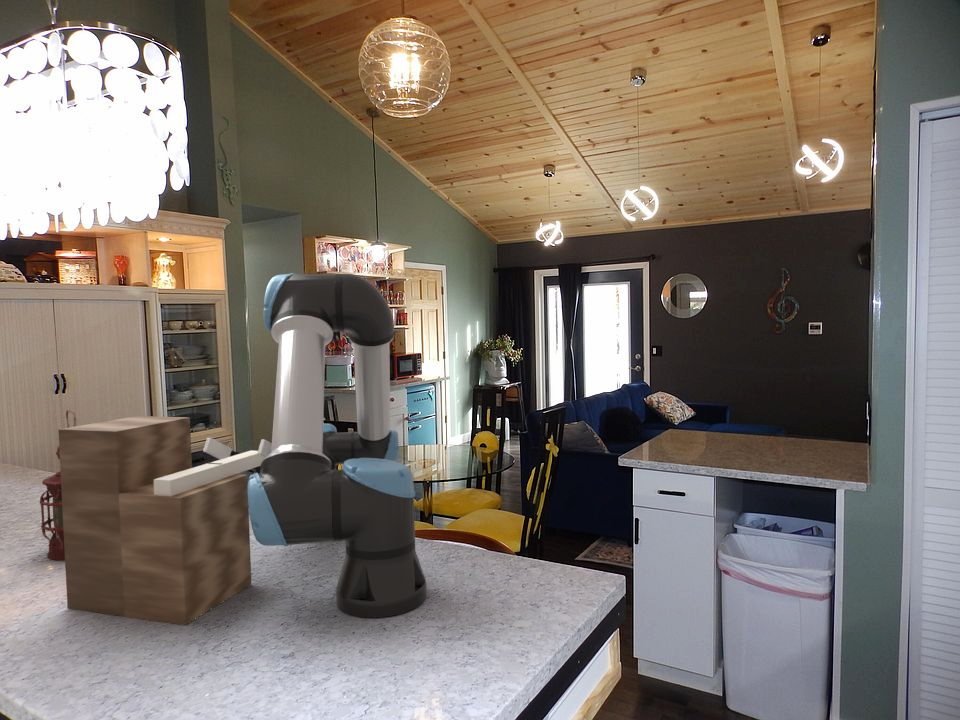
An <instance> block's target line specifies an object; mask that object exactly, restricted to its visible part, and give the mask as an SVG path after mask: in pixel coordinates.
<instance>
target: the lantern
mask: <svg viewBox="0 0 960 720" xmlns="http://www.w3.org/2000/svg"><path fill="white" fill-rule="evenodd" d="M69 413H71V414H72V416H73V427H76V426H77V416H76V412H75V411H73V410H72V409H67V410H66V412H65V420H66V421H65V422H66V428H70V422H69ZM56 448H57V449H56V453H55V455H56V456H57V459H58V460H60V452H59V445H58V446H57V447H56ZM41 484H43V485H44V486H45V487H46V491H44V492H43V493H42V494H41V495H40V499H39V504H40V510H41V512H40V513H41V525H40V528H41V532H42V536H43V537H44V538H45V539H46V540H48V553H47V558H48V559H50V560H52V561H65V549H64V530H63V511H62V491H61V472H60V471H57V472H56V473H55V474H52V475H50V476H49V477H46V478H44V479H42V483H41ZM45 494H46V496H45ZM51 498H52V502H50V499H51ZM45 506H46V508H47V509H46V510H47V520H45V511H44V507H45ZM50 507H52V518H51V511H50ZM52 522H53V527H52ZM46 525H47V526H46ZM46 531H49V532H50V533H51V538H49V537H48V536H47V534H46Z"/></svg>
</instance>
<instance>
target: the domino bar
mask: <svg viewBox="0 0 960 720" xmlns="http://www.w3.org/2000/svg"><path fill="white" fill-rule="evenodd" d="M240 453H241V454H238V455H234V456H231V457H227V458H224V459H221V460H217V459H216V460H215V461H212V462H207V463H204V464H201V465H197V466H194V467H192V468H191V469H187V470H184V471H180V472H177V473H174V474H170V475H167V476H164V477H160V478H157V479H154V495H158V496H173V495H176V494H179V493H182V492H185V491H188V490H191V489H194V488H197V487H200V486H203V485H206V484H209V483H211V482H214V481H217V480H220V479H223V478H226V477H229V476H232V475H235V474H242V473H244V471H247V470H249V469H252V468H255V467H258V466H261V462H262V460H263V459H264V458H265V457H263V456H261V455H259V454H257V453H258V450H252V449H251V450H247V451H244V452H240Z"/></svg>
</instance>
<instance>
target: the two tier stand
mask: <svg viewBox="0 0 960 720" xmlns="http://www.w3.org/2000/svg"><path fill="white" fill-rule="evenodd" d="M57 431H58V446H59V452H60V459H59V466H60V467H59V468H60V471H59V472H61V491H62V511H63V530H64V549H65V560H64V563H65V565H64V566H65V586H66V587H65V588H66V604H67V605H66V606H67V609H72V610H76V611H77V610H79V611H85V612H90V611H91V612H92V613H97V612H99V614H104V613H106V614H105V615H112V616H118V617H119V616H120V617H125V618H132V619H139V620H145V621H153V622H161V623H167V624H173V625H180V624H184V625H183V626H187V625H188V624H187V623H189V622H190V623H192V622H193V621H195V620H196V619H195V618H197V617H198V616H200V615H201V614H203V613H205V612H206V613H208V612H209V611H208V610H210V609H211V608H213V607H214V608H216V607H217V606H216V605H218V604H219V605H221V604H222V603H224V602H225V600H226V601H227V600H228V598H229V599H231V598H232V597H233V595H234V596H235V595H237V594H238V592H239V591H240V592H242V591H244V590H245V589H247V588H249V587H250V586H251V585H252V565H251V564H252V563H251V562H252V561H251V560H252V559H251V542H250V541H251V539H250V536H251V535H250V514H249V506H248V481H249V477H248V474H244V473H243V474H242V473H238V474H235V475H232V476H229V477H226V478H223V479H220V480H217V481H214V482H211V483H209V484H206V485H203V486H200V487H197V488H194V489H191V490H188V491H185V492H182V493H179V494H176V495H173V496H158V495H154V479H157V478H160V477H164V476H167V475H170V474H174V473H177V472H180V471H184V470H187V469H191V468H193V466H192V465H193V463H192V462H193V461H192V440H191V439H192V437H191V435H192V434H191V417H186V416H185V417H184V416H183V417H180V416H149V415H147V416H146V415H138V416H137V415H136V416H131V417H130V416H129V417H124V418H119V419H118V418H117V419H113V420H108V421H102V422H101V421H100V422H95V423H89V424H83V425H76V427H74V426H69V428H67V427H65V428H58V430H57ZM246 587H247V588H246ZM241 590H242V591H241ZM240 592H239V593H240ZM230 597H231V598H230ZM223 601H224V602H223ZM221 602H222V603H221ZM220 603H221V604H220ZM219 605H218V606H219ZM215 606H216V607H215ZM214 608H213V609H214ZM211 610H212V609H211ZM211 610H210V611H211ZM207 611H208V612H207ZM206 613H205V614H206ZM203 615H204V614H203ZM200 617H201V616H200ZM198 618H199V617H198ZM198 618H197V619H198ZM194 619H195V620H194ZM191 621H192V622H191ZM190 623H189V624H190ZM186 624H187V625H186Z"/></svg>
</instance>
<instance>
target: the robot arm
mask: <svg viewBox="0 0 960 720" xmlns="http://www.w3.org/2000/svg"><path fill="white" fill-rule="evenodd" d="M265 289H266V290H265V293H264V300H263V305H264V306H263V313H262V316H263V324H264V327H265V330H266V331H267V332H268V333H271V337H272V339H273V340H274V341H275V343H277V344H278V349H277V351H278V352H277V364H276V365H277V366H276V378H275V392H274V393H275V394H274V407H273V419H272V420H273V424H272V435H271V442H270V441H268V439H264V438H262V439H261V440H260V443H259V445H258V450H257V451H258V453H257V454H259V455H261V456H263V457H265V458H264V459H263V460H262V462H261V466H258V467H255V468H252V469H249V470H247V471H244V472H245V473H248V474H249V475H250V476H249V477H248V506H249V521H250V525H251V529H252V534H253V535H254V538H255V540H256V541H257V543H259V544H260V545H262V546H265V547H266V546H267V547H268V546H269V547H270V546H272V547H273V546H283V547H288V546H295V545H304V544H305V545H307V544H308V545H309V544H319V543H320V544H321V543H332V542H344V543H345V558H344V561H343V564H342V568H341V571H340V575H339V577H338V578H339V579H338V581H337V584H336V588H335V589H336V590H335V601H336V605H337V608H338V609H339V610H340V611H341V612H343V613H345V614H349V615H351V616H355V617H362V618H386V617H391V616H397V615H400V614H404V613H407V612H409V611H413V610H414V609H416V608H418V607H420V606H421V605H422V604H423V603H424V602H425V601H426V599H427V593H428V590H427V589H428V587H427V580H426V576H425V573H424V570H423V569H422V565H421V563H420V562H421V561H420V559H419V557H418V555H417V551H416V530H415V529H416V525H415V500H414V499H415V498H414V497H415V496H416V491H415V488H414V487H415V484H414V475H413V472H412V469H410V467H408V466H407V465H406V464H404V463H401V462H398V461H397V460H398V459H399V455H400V452H399V446H400V445H399V444H400V443H399V432H398V431H397V430H396V429H395V430H391V396H390V395H391V381H390V380H391V379H390V378H391V375H390V374H391V373H390V372H391V370H390V369H391V368H390V365H391V364H390V363H391V361H390V360H391V359H390V352H391V351H390V350H391V349H390V343H391V342H393V340H394V338H395V321H394V317H393V312H392V311H391V308H390V306H389V304H388V302H387V300H386V299H385V297H384V296H383V294H382V293H381V292H380V291H379V289H378V288H377V287H376V286H375V285H374V284H372V283H371V281H369V280H367V279H366V278H364V277H362V276H360V275H356V274H353V273H295V272H291V273H287V274H286V273H285V274H283V273H282V274H277V275H274V276H273V277H272V278H271V279H270V280H269V281H268V284H267V286H266V288H265ZM334 332H347V338H348V339H349V342H351V343H352V344H353V357H354V358H353V360H354V364H353V365H354V379H355V380H354V382H355V401H356V402H355V403H356V423H357V425H356V426H357V431H350V432H349V431H348V432H345V431H344V432H338V431H337V427H336V426H335V425H333V424H332V423H324V415H325V414H324V410H325V409H324V408H325V407H324V406H325V369H326V368H325V365H326V363H325V362H326V360H325V359H326V358H325V357H326V346H328V345H329V344H330V343H331V342H332V340H333V339H334V338H333V337H334ZM202 452H204V453H206V454H208V455H210V456H212V457H214V458H216V461H217V460H221V459H224V458H227V457H231V456H234V455H238V454H241V453H242V452H239V451H235V450H233V448H231V447H230V446H227V445H225V443H224V444H223V443H222V442H220V441H218V440H216V439H214V438H212V437H206V440H205V443H204V447H203V450H202ZM338 465H341V469H337V466H338ZM244 472H243V473H244Z"/></svg>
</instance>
